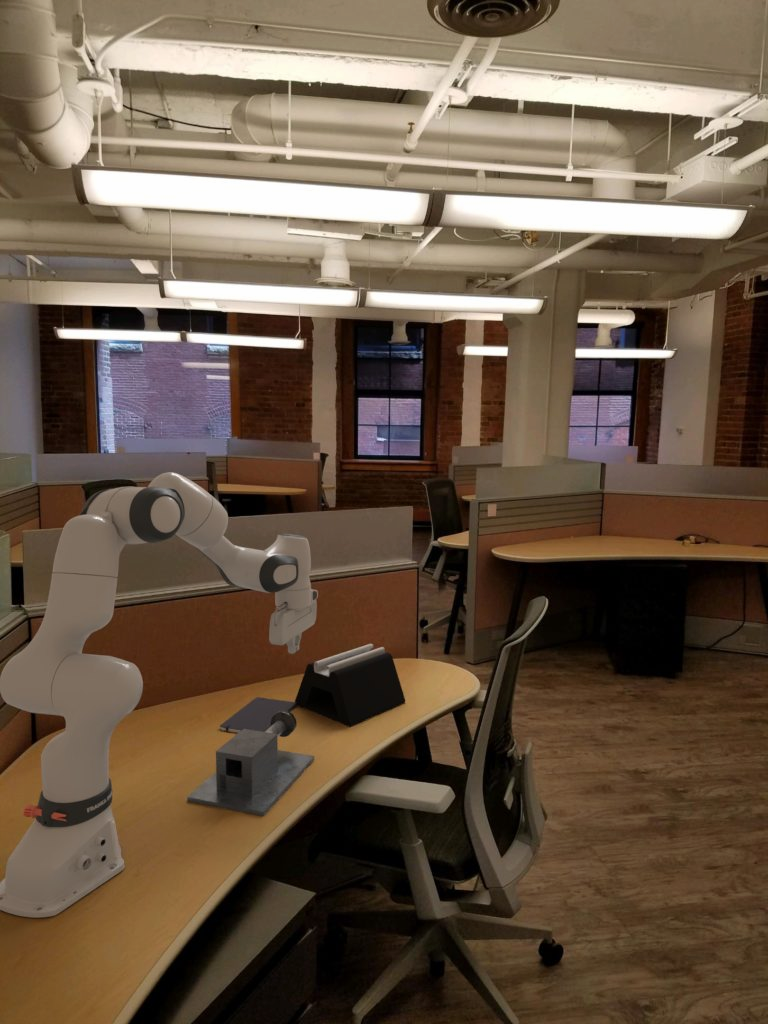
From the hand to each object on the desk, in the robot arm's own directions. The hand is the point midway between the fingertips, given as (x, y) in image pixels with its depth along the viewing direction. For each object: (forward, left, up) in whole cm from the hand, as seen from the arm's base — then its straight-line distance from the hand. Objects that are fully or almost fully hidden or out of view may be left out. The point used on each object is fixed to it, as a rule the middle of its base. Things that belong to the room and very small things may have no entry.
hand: (293, 651), depth 177 cm
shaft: (-15, 0, -19) cm, 24 cm away
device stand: (+27, -5, -24) cm, 36 cm away
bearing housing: (-21, 0, -23) cm, 31 cm away
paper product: (+10, +15, -24) cm, 30 cm away
